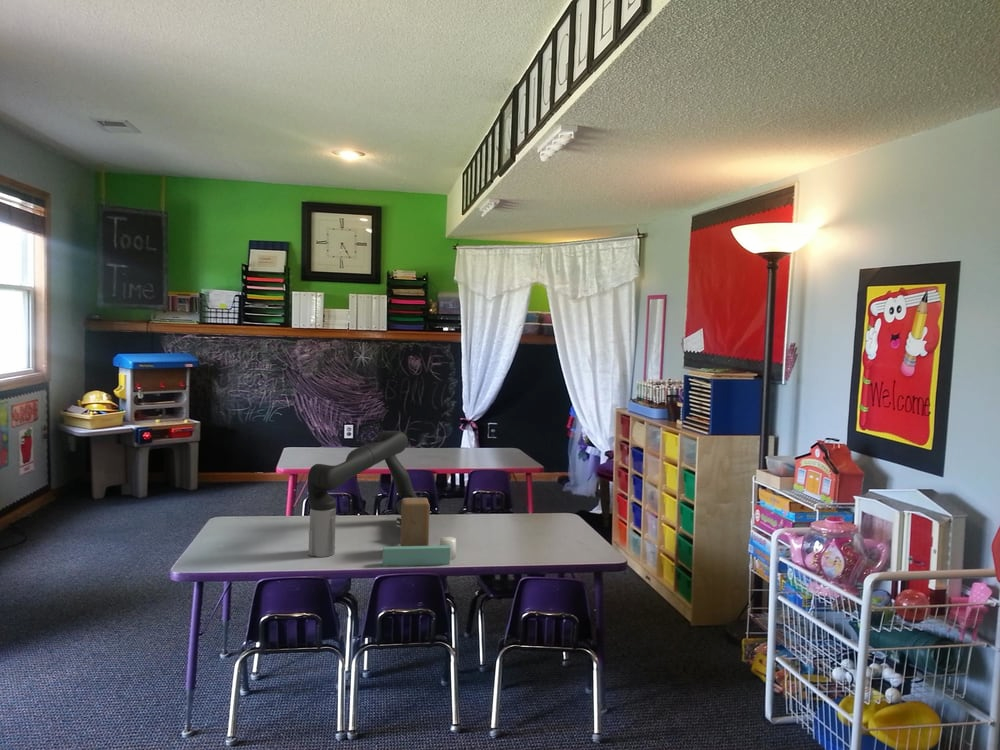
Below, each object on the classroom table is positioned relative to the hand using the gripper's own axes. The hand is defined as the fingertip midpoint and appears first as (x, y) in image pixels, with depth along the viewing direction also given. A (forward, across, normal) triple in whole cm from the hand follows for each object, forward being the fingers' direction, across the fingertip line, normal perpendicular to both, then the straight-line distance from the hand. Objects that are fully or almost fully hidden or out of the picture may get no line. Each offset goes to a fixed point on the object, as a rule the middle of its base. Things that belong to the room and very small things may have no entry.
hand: (413, 527), depth 271 cm
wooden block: (+7, 0, +8) cm, 11 cm away
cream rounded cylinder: (+14, +12, +8) cm, 20 cm away
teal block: (+20, 0, +8) cm, 22 cm away
